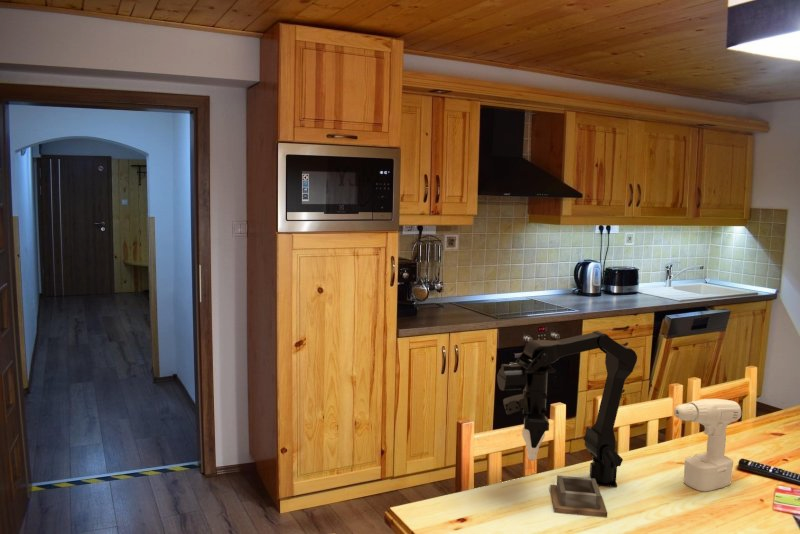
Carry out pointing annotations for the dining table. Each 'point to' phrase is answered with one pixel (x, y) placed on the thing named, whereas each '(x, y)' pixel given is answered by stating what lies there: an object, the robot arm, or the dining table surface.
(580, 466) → the dining table surface
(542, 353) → the robot arm
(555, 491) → the lamp socket
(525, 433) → the lightbulb
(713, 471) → the power drill
